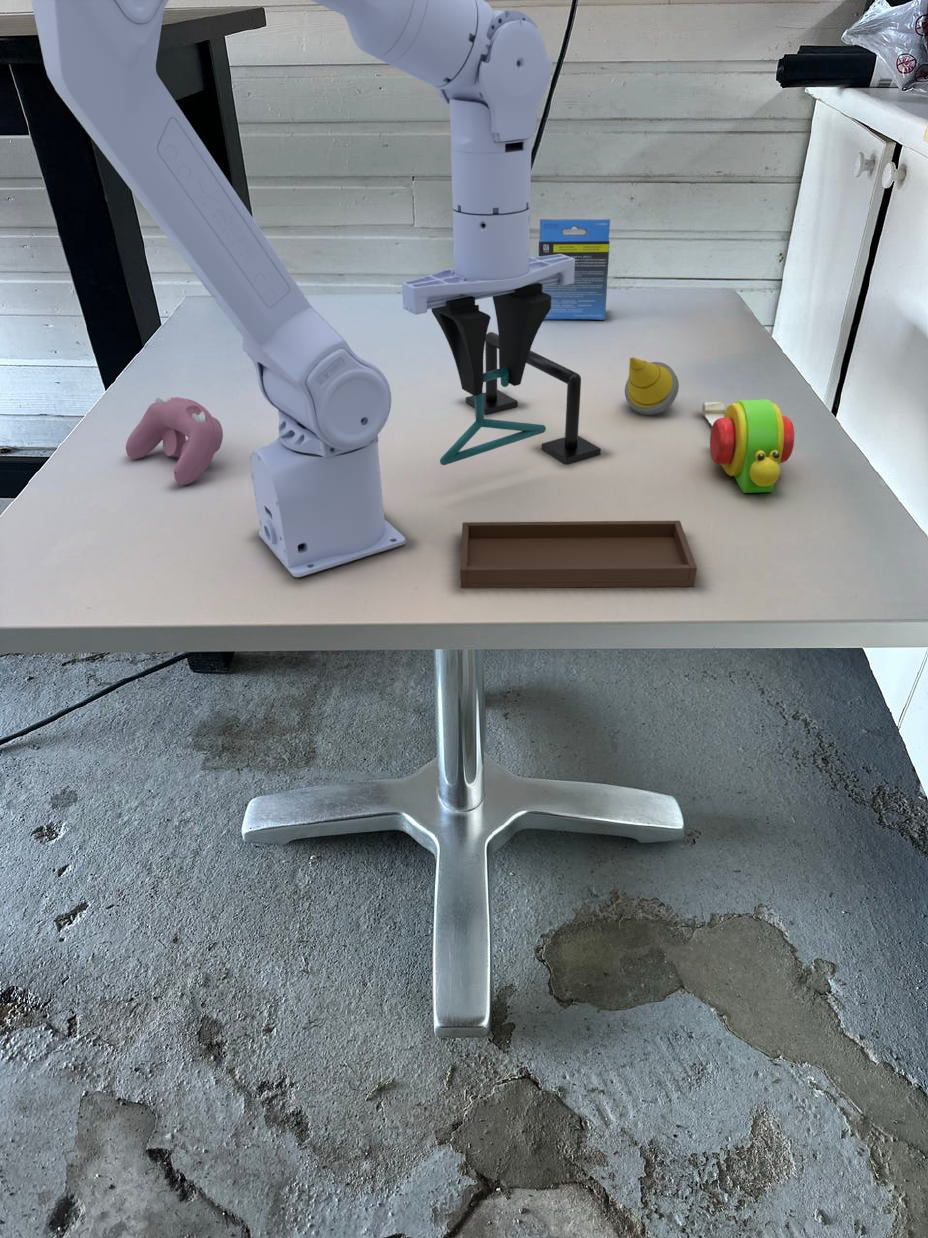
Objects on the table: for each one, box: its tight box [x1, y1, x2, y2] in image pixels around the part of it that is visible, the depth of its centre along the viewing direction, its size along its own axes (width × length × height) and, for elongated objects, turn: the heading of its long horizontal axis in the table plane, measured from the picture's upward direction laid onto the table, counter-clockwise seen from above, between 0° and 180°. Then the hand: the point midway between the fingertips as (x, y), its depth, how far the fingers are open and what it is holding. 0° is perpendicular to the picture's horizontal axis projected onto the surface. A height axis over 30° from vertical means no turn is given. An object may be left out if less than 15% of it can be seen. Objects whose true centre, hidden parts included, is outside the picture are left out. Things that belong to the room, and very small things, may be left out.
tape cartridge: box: [538, 218, 611, 321], centre depth 114 cm, size 9×4×12 cm, turn 83°
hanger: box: [439, 367, 547, 466], centre depth 74 cm, size 11×1×7 cm, turn 121°
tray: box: [459, 520, 698, 589], centre depth 67 cm, size 17×7×2 cm, turn 89°
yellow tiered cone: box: [624, 357, 680, 416], centre depth 89 cm, size 5×5×10 cm
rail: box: [465, 331, 602, 465], centre depth 87 cm, size 4×18×8 cm, turn 31°
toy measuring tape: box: [701, 398, 795, 494], centre depth 80 cm, size 6×20×7 cm, turn 0°
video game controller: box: [125, 396, 224, 486], centre depth 82 cm, size 10×5×7 cm, turn 47°
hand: (491, 386), depth 73 cm, fingers closed on hanger, 3 cm apart
